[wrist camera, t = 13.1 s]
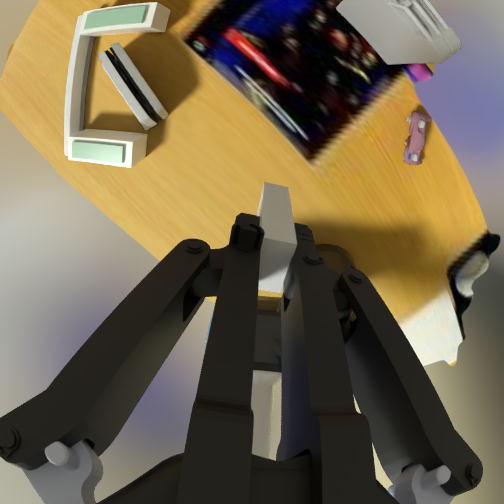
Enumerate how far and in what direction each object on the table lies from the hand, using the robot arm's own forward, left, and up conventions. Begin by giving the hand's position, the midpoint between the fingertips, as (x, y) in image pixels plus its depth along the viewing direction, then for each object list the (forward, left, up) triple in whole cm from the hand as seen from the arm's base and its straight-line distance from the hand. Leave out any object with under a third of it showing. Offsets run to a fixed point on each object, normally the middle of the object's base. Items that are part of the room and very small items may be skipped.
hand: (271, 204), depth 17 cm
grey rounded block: (+4, +24, -30) cm, 38 cm away
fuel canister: (+24, -10, -30) cm, 39 cm away
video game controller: (+7, -24, -30) cm, 39 cm away
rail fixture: (+5, +29, -29) cm, 42 cm away
